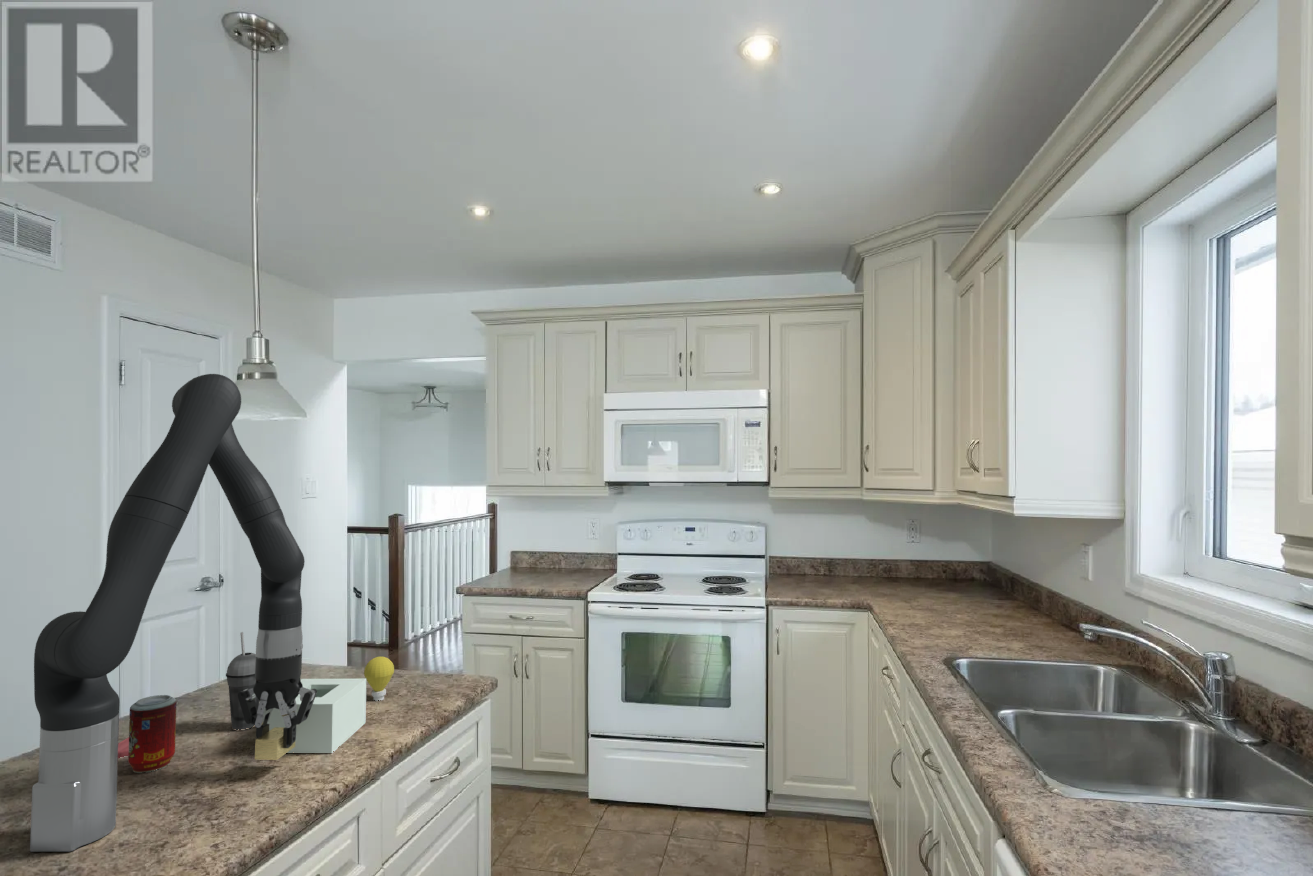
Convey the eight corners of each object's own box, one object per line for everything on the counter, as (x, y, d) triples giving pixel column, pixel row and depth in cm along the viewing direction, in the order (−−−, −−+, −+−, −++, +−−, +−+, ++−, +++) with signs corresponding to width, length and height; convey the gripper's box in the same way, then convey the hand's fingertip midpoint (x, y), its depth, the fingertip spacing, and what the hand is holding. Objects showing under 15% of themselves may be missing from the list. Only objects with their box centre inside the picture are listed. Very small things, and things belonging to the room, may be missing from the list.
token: (276, 760, 122) (277, 740, 122) (254, 759, 122) (255, 739, 122) (295, 746, 128) (295, 727, 128) (274, 746, 128) (274, 727, 128)
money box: (331, 753, 133) (332, 704, 133) (259, 754, 132) (260, 704, 133) (365, 722, 149) (366, 678, 149) (300, 723, 148) (301, 678, 149)
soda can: (122, 767, 127) (125, 700, 127) (168, 755, 132) (170, 690, 133) (133, 778, 122) (136, 708, 123) (180, 765, 128) (182, 698, 128)
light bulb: (363, 697, 165) (363, 655, 166) (392, 693, 168) (393, 652, 168) (363, 705, 159) (364, 662, 159) (394, 701, 162) (395, 659, 162)
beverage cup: (245, 734, 142) (247, 637, 143) (215, 732, 143) (218, 635, 144) (271, 722, 149) (273, 629, 150) (243, 719, 151) (245, 627, 151)
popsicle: (178, 722, 146) (128, 752, 131) (178, 730, 146) (128, 760, 131) (152, 723, 145) (98, 753, 130) (152, 730, 145) (98, 761, 130)
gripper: (228, 656, 122) (224, 754, 121) (307, 657, 122) (303, 755, 121) (253, 646, 130) (249, 738, 129) (327, 646, 130) (324, 739, 129)
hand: (275, 746), depth 125 cm, fingers closed on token, 4 cm apart
